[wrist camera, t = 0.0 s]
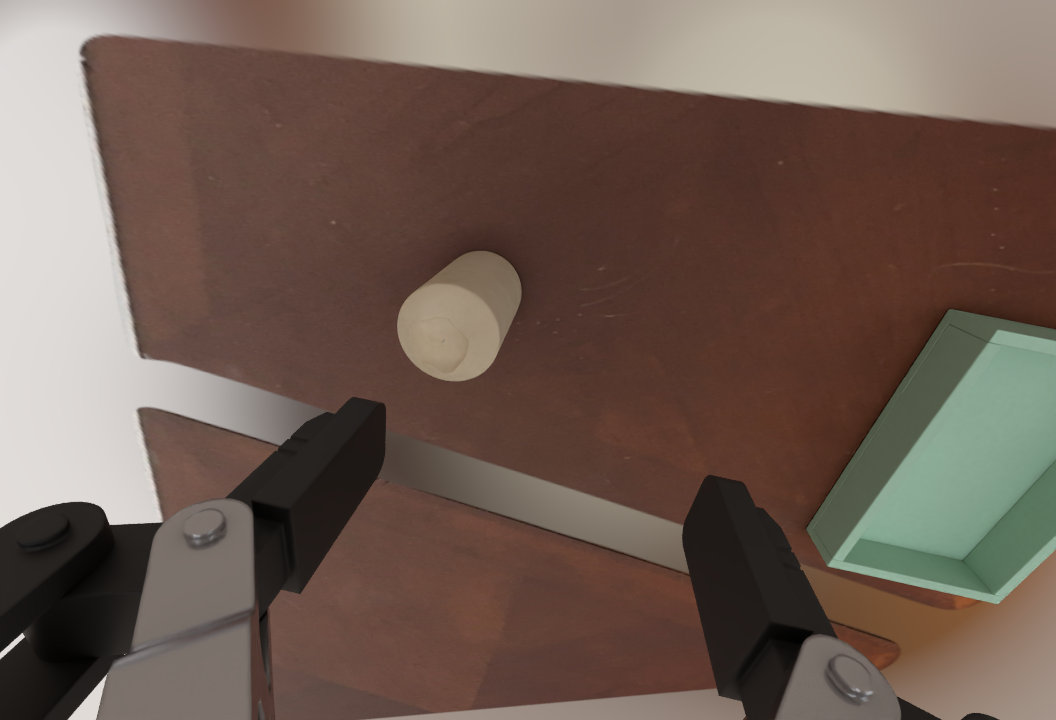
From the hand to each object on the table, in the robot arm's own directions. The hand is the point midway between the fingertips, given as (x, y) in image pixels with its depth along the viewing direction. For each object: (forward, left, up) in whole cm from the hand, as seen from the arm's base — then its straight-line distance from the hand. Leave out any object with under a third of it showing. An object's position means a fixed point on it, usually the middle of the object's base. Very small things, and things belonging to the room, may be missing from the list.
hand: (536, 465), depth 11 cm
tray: (+8, +30, -20) cm, 37 cm away
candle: (+2, -6, -20) cm, 21 cm away
